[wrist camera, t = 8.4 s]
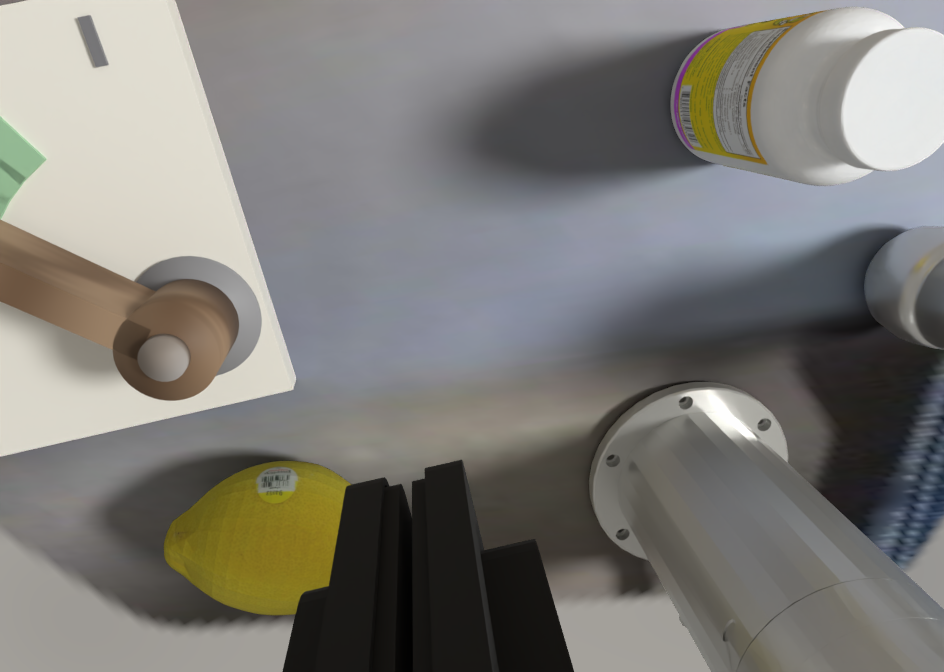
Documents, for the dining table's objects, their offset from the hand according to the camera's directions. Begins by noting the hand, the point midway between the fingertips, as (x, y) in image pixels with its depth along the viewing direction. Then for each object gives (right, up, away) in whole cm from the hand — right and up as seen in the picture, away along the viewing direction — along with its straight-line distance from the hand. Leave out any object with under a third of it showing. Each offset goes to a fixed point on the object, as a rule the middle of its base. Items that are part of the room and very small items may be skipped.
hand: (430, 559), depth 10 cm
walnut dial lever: (-17, +6, +22) cm, 29 cm away
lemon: (-10, -6, +30) cm, 33 cm away
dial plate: (-19, +8, +24) cm, 32 cm away
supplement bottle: (+14, +16, +25) cm, 33 cm away
